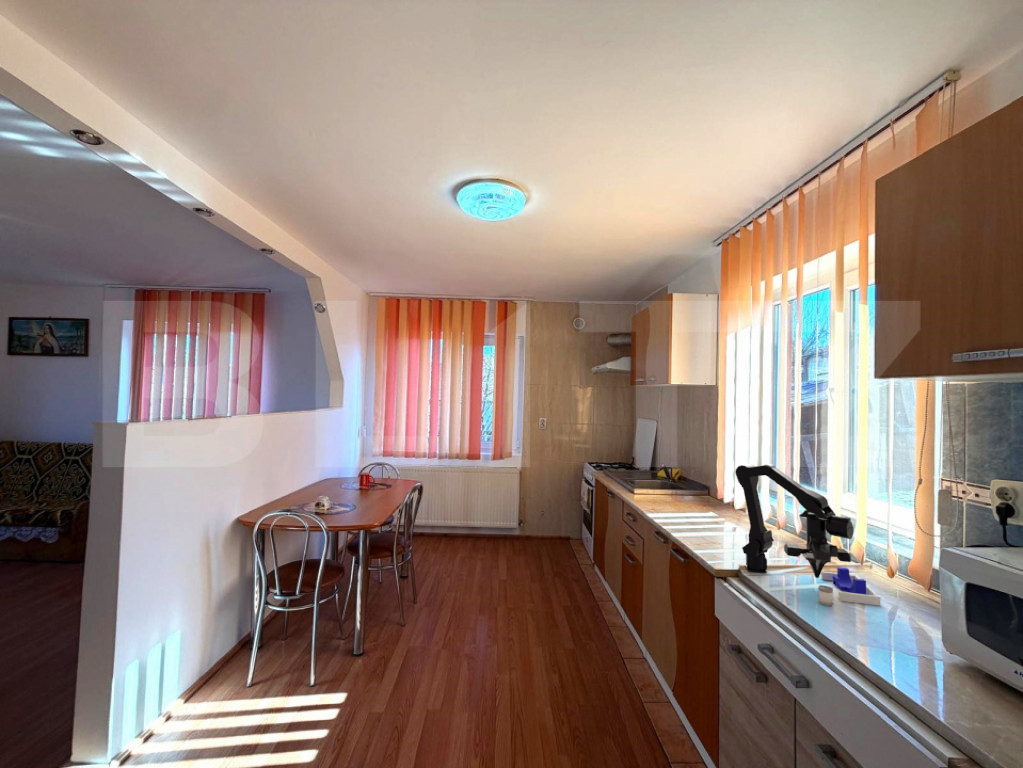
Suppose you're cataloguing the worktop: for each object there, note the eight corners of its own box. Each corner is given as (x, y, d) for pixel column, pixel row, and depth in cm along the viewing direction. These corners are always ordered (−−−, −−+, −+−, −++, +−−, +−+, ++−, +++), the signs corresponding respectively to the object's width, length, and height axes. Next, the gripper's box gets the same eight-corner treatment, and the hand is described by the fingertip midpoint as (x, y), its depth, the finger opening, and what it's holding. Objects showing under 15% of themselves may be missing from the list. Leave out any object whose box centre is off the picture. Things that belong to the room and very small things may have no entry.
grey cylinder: (820, 605, 148) (820, 589, 148) (817, 600, 151) (816, 584, 152) (834, 607, 147) (834, 590, 147) (830, 602, 150) (830, 586, 150)
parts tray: (839, 600, 151) (839, 592, 152) (821, 578, 170) (821, 571, 170) (880, 605, 148) (880, 597, 148) (857, 582, 166) (857, 575, 167)
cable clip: (832, 584, 165) (832, 567, 166) (846, 585, 165) (846, 568, 165) (850, 598, 154) (850, 579, 154) (866, 599, 153) (866, 580, 153)
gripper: (791, 535, 158) (791, 582, 157) (856, 541, 152) (857, 590, 151) (783, 527, 168) (784, 571, 168) (844, 532, 162) (845, 578, 162)
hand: (816, 577), depth 162 cm, fingers closed
